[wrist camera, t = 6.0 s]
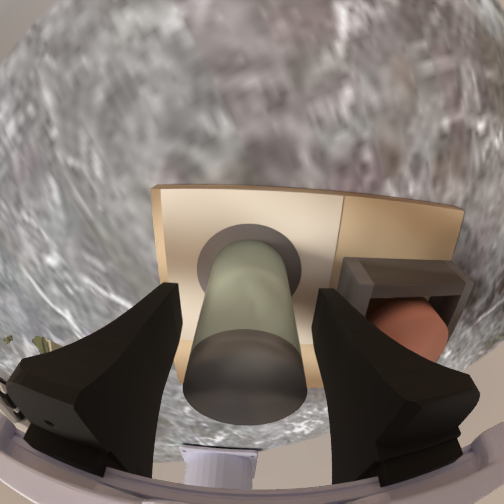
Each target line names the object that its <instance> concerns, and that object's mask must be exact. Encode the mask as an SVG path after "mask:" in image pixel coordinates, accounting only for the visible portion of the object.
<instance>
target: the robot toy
mask: <svg viewBox="0 0 504 504" xmlns="http://www.w3.org/2000/svg"><path fill="white" fill-rule="evenodd" d="M0 412H1V413H2V414H4V415H5V416H6V417H7V418H8V419H9V420H10V421H11V422H12V423H13V424H14V425H15V427H16V428H17V429H19V430H21V431H23V432H25V433H26V431H27V429H28V427H29V425H30V422H29V420H28V419H27V418H26V417H25V416H24V415H23V413H22V412H21V411H20V410H19V409H18V407H17V406H16V405H15V404H14V402H13V401H12V400H11V398H10V397H9V395H8V393H7V390H6V386H5V385H4V384H3V383H1V382H0Z"/></svg>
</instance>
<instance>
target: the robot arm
mask: <svg viewBox="0 0 504 504" xmlns="http://www.w3.org/2000/svg"><path fill="white" fill-rule="evenodd" d="M182 326H183V319H182V311H181V303H180V294H179V285H178V283H171V282H163V283H162V284H160V285H159V286H158V287H157V288H155V289H154V290H153V291H152V292H151V293H149V294H148V295H147V296H146V297H144V298H143V299H142V300H141V301H140V302H138V303H137V304H136V305H135V306H133V307H132V308H131V309H129V310H128V311H126V312H125V313H124V314H122V315H121V316H120V317H118V318H117V319H115V320H114V321H112V322H111V323H109V324H108V325H106V326H105V327H103V328H101V329H99V330H98V331H96V332H94V333H92V334H90V335H88V336H86V337H84V338H82V339H80V340H78V341H76V342H74V343H72V344H69V345H67V346H64V347H62V348H59V349H56V350H53V351H50V352H47V353H43V354H40V355H36V356H32V357H28V358H23V359H22V360H21V361H20V363H19V364H18V366H17V367H16V369H15V370H14V372H13V373H12V375H11V376H10V378H9V379H8V381H7V383H6V390H7V393H8V395H9V397H10V398H11V400H12V401H13V402H14V404H15V405H16V406H17V407H18V409H19V410H20V411H21V412H22V413H23V415H24V416H25V417H26V418H27V419H28V420H29V422H30V425H29V427H28V429H27V431H26V433H25V432H23V431H21V430H19V429H17V428H16V427H15V425H14V424H13V423H12V422H11V421H10V420H9V419H8V418H7V417H6V416H5V415H4V414H2V413H1V412H0V480H1V481H2V482H3V483H5V484H6V485H7V486H9V487H10V488H12V489H13V490H15V491H16V492H18V493H19V494H21V495H22V496H24V497H26V498H27V499H29V500H30V501H32V502H34V503H35V504H473V503H475V502H477V501H478V500H480V499H482V498H483V497H485V496H486V495H488V494H489V493H491V492H492V491H494V490H495V489H497V488H498V487H500V486H501V485H502V484H504V422H501V423H499V424H497V425H495V426H494V427H492V428H490V429H488V430H486V431H484V432H483V433H482V434H480V435H479V436H478V437H477V438H476V439H475V440H474V441H473V442H472V443H471V444H470V445H468V446H466V447H463V448H461V447H460V444H459V442H458V439H457V438H458V437H459V436H460V434H461V432H460V430H459V428H458V426H459V425H460V424H461V423H462V422H463V421H464V419H465V418H466V417H467V416H468V415H469V414H470V413H471V411H472V410H473V409H474V407H475V406H476V405H477V403H478V401H479V397H480V392H479V391H478V389H477V387H476V385H475V384H474V382H473V380H472V378H471V377H470V375H469V374H465V373H462V372H459V371H456V370H453V369H450V368H447V367H445V366H442V365H440V364H437V363H435V362H433V361H430V360H428V359H426V358H424V357H422V356H420V355H418V354H417V353H415V352H413V351H411V350H409V349H408V348H406V347H404V346H403V345H401V344H399V343H398V342H397V341H395V340H394V339H392V338H391V337H389V336H388V335H386V334H385V333H384V332H382V331H381V330H380V329H379V328H377V327H376V326H375V325H374V324H372V323H371V322H370V321H369V320H368V319H366V318H365V317H364V316H363V315H362V314H361V313H360V312H359V311H358V310H356V309H355V308H354V307H353V306H352V305H351V304H350V303H349V302H348V301H347V300H346V299H345V298H344V297H343V296H342V295H341V294H340V293H338V292H337V291H336V290H335V289H334V288H319V290H318V296H317V301H316V306H315V311H314V316H313V321H312V326H311V330H312V339H313V346H314V351H315V355H316V359H317V363H318V367H319V370H320V374H321V378H322V382H323V386H324V390H325V394H326V399H327V405H328V414H329V423H330V434H331V447H332V448H331V449H332V485H327V486H319V487H309V488H297V489H277V490H252V479H253V478H254V475H255V469H256V463H257V456H258V451H256V450H239V449H222V448H209V447H199V446H191V445H180V446H179V449H180V451H181V454H182V456H183V458H184V460H185V463H186V471H185V478H184V484H179V483H173V482H167V481H162V480H157V479H152V466H153V453H154V444H155V436H156V429H157V422H158V416H159V410H160V405H161V399H162V395H163V391H164V387H165V384H166V381H167V378H168V375H169V372H170V369H171V366H172V363H173V360H174V357H175V354H176V351H177V348H178V345H179V341H180V337H181V332H182ZM144 499H145V500H144Z"/></svg>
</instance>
